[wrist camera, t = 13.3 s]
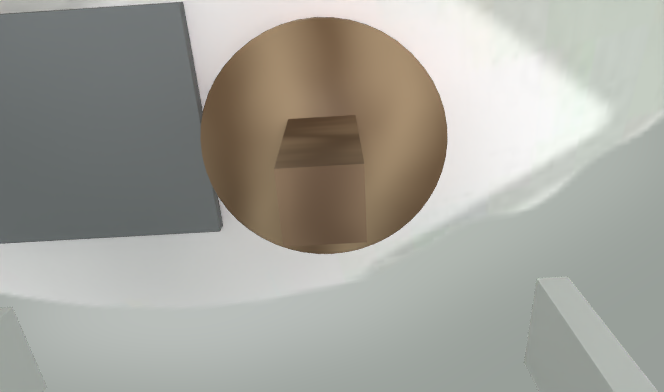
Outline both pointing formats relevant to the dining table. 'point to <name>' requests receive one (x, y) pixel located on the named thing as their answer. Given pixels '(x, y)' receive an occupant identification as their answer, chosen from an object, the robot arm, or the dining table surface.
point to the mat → (101, 126)
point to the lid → (323, 135)
